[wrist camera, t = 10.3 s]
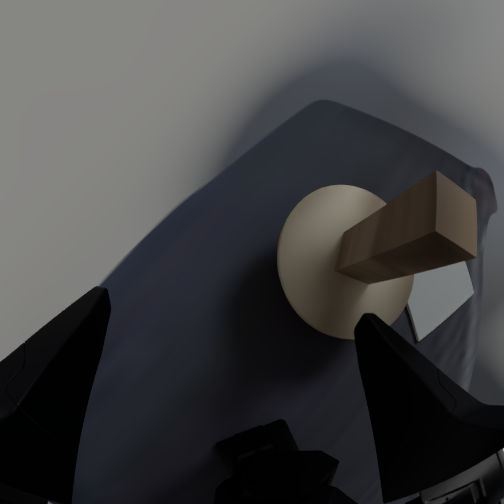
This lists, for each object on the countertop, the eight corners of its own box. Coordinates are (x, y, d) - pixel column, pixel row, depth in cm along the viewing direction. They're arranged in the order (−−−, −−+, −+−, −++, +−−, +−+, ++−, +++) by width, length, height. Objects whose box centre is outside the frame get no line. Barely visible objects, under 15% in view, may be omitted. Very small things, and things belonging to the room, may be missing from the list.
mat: (471, 293, 26) (474, 293, 26) (416, 340, 24) (419, 341, 23) (441, 207, 28) (443, 205, 28) (379, 235, 26) (382, 234, 25)
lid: (415, 222, 21) (505, 175, 11) (391, 352, 18) (501, 365, 8) (301, 167, 21) (362, 68, 10) (253, 311, 18) (309, 310, 7)
